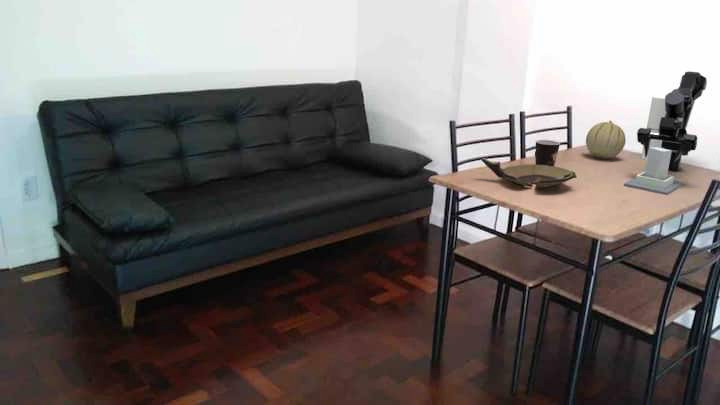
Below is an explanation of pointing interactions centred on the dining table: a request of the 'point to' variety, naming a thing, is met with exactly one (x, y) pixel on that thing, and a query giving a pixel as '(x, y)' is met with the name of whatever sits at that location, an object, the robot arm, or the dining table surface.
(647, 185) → the collar board
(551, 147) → the coffee mug
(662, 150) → the skincare box
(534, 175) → the oil lamp
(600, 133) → the cantaloupe
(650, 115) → the white tall block
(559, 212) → the dining table surface
